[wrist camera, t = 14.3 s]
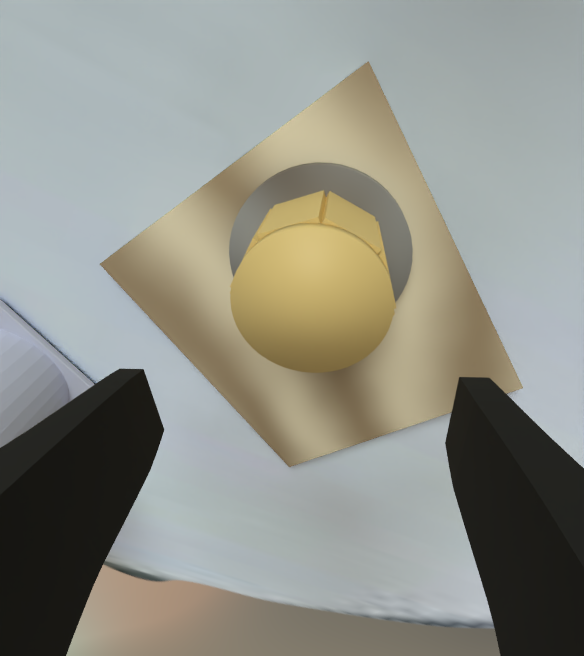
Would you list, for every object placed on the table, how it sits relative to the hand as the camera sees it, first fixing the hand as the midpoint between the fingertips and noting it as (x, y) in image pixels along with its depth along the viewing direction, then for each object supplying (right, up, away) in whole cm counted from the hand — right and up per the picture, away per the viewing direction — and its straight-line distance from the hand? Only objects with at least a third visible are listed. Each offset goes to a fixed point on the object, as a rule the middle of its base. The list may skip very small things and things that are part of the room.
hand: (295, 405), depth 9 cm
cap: (+1, +5, +7) cm, 8 cm away
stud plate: (+1, +2, +10) cm, 11 cm away
